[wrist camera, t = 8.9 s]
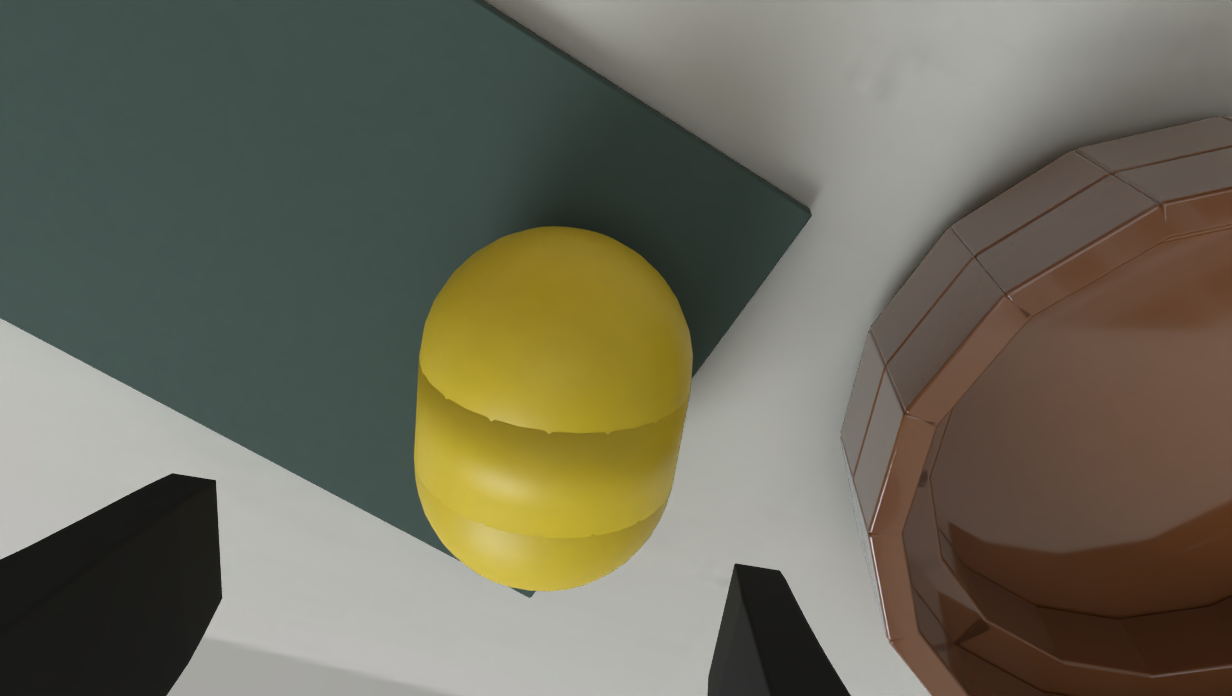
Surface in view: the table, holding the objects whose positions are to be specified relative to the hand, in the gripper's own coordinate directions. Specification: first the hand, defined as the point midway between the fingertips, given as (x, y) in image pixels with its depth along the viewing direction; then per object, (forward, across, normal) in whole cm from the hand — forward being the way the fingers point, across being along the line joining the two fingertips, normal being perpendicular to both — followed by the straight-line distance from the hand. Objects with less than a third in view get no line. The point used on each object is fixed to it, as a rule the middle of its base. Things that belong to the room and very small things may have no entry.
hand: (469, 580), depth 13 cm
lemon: (+7, 0, 0) cm, 7 cm away
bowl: (+8, -12, -1) cm, 14 cm away
